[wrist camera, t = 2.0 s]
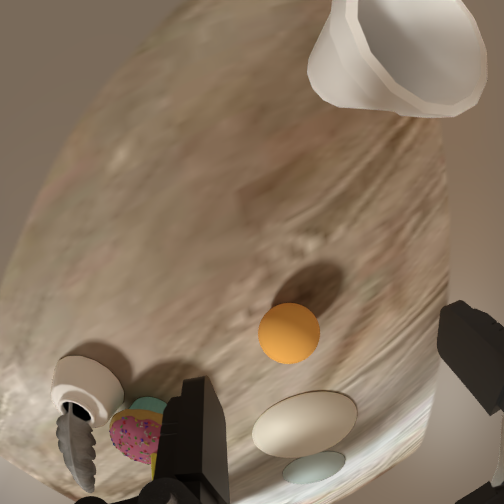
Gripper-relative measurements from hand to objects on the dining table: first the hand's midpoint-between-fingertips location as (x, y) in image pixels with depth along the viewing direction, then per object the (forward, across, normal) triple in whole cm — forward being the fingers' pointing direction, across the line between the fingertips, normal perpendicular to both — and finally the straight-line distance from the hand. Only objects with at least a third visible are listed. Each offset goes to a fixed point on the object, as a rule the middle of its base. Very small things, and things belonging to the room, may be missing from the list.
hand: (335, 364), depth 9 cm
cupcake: (+19, +18, +19) cm, 32 cm away
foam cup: (+19, -10, -11) cm, 24 cm away
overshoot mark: (+18, 0, +40) cm, 44 cm away
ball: (+16, 0, +10) cm, 19 cm away
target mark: (+18, 0, +28) cm, 33 cm away
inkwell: (+19, +25, +18) cm, 36 cm away
